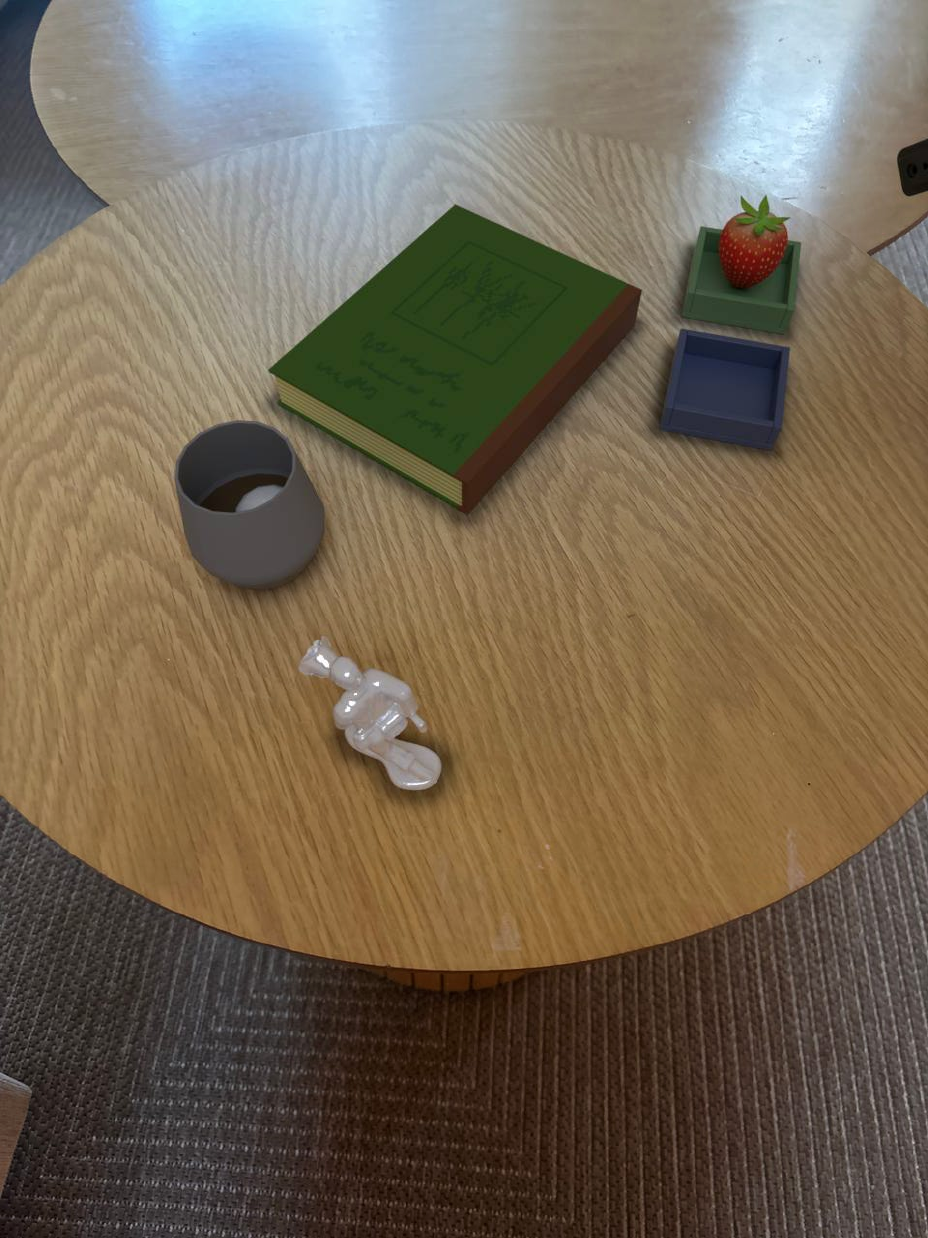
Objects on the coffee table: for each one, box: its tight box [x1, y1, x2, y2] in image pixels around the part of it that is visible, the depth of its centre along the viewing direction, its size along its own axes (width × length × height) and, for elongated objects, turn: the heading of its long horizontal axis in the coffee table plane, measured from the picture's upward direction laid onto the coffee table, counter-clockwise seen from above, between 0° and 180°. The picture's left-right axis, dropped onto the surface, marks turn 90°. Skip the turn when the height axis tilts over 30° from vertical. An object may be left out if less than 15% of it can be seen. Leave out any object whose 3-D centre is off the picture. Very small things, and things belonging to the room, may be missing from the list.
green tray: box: [680, 225, 802, 335], centre depth 76 cm, size 9×9×3 cm
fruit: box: [719, 194, 792, 288], centre depth 73 cm, size 5×5×8 cm
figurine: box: [297, 635, 443, 791], centre depth 51 cm, size 5×9×12 cm, turn 62°
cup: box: [173, 419, 326, 591], centre depth 59 cm, size 10×9×10 cm
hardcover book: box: [268, 204, 643, 515], centre depth 71 cm, size 25×19×4 cm
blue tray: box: [658, 328, 791, 452], centre depth 70 cm, size 9×9×3 cm
